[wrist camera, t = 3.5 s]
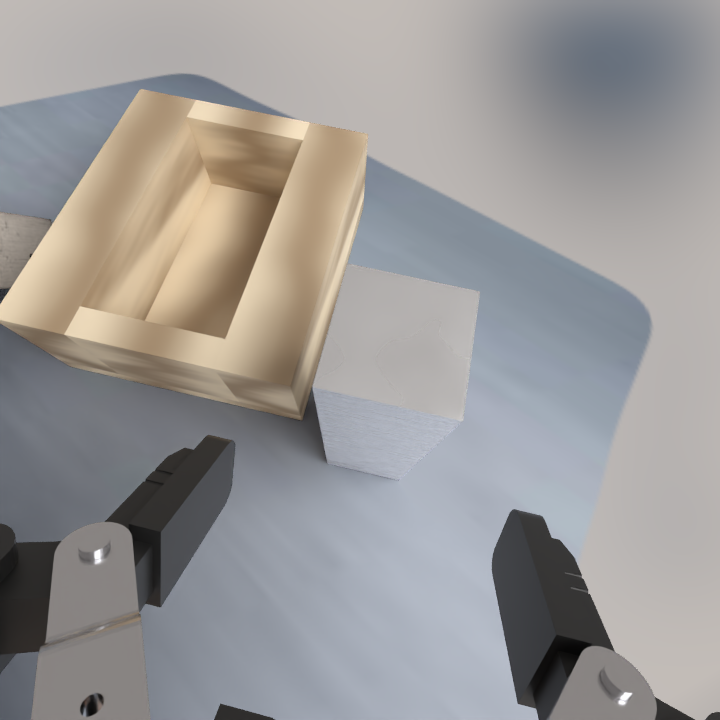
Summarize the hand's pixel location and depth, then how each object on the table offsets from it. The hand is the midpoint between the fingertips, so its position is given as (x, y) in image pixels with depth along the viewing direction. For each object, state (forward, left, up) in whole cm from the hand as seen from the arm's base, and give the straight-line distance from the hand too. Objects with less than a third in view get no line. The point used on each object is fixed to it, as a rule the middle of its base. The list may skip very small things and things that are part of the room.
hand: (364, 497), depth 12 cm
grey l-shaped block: (0, +7, -11) cm, 13 cm away
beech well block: (-11, +12, -11) cm, 20 cm away
